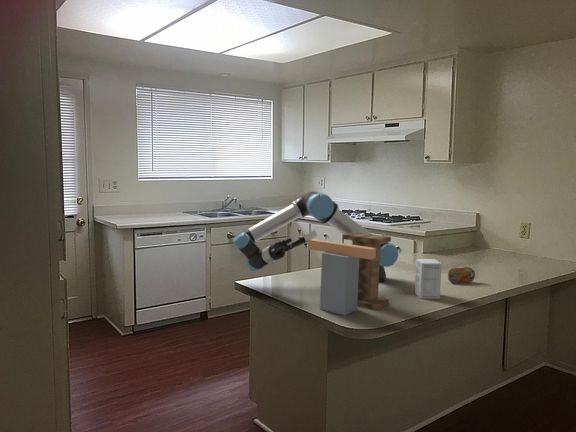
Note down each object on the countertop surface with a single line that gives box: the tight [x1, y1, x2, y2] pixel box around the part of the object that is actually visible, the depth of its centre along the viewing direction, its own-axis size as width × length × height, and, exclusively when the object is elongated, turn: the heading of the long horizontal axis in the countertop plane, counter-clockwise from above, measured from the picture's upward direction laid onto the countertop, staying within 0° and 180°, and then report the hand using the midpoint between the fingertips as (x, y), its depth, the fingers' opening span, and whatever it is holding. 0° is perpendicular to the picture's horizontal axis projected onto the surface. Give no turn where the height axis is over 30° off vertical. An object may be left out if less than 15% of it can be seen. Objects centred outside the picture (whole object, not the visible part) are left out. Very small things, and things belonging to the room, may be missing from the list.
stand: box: [342, 232, 392, 311], centre depth 212 cm, size 18×12×30 cm, turn 52°
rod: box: [308, 238, 376, 260], centre depth 200 cm, size 30×4×4 cm, turn 52°
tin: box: [447, 266, 476, 285], centre depth 252 cm, size 15×3×8 cm, turn 105°
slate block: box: [319, 252, 359, 316], centre depth 202 cm, size 12×10×24 cm
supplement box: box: [414, 258, 443, 300], centre depth 225 cm, size 10×9×17 cm
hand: (306, 234), depth 210 cm, fingers open, 13 cm apart
